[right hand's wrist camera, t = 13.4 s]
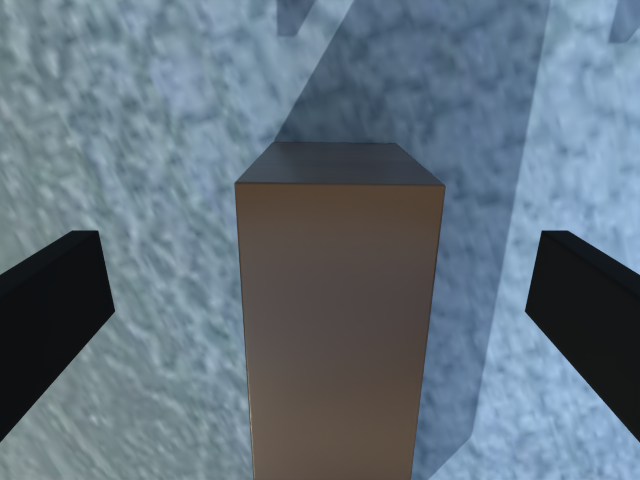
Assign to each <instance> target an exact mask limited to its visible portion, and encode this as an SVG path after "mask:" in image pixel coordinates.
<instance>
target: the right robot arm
mask: <svg viewBox="0 0 640 480" xmlns="http://www.w3.org/2000/svg"><path fill="white" fill-rule="evenodd" d="M114 312H115V308H114V304H113V299H112V294H111V289H110V285H109V280H108V275H107V270H106V266H105V261H104V256H103V251H102V246H101V242H100V237H99V232H98V231H71V232H69V233H68V234H66V235H64V236H63V237H61V238H59V239H58V240H56V241H55V242H53V243H51V244H50V245H48V246H46V247H45V248H43V249H42V250H40V251H38V252H37V253H35V254H33V255H32V256H30V257H29V258H27V259H25V260H24V261H22V262H20V263H19V264H17V265H16V266H14V267H12V268H11V269H9V270H8V271H6V272H4V273H3V274H1V275H0V442H1V441H2V440H3V439H4V438H5V436H6V435H7V434H8V433H9V432H10V431H11V430H12V428H13V427H14V426H15V425H16V424H17V423H18V422H19V420H20V419H21V418H22V417H23V416H24V415H25V414H26V412H27V411H28V410H29V409H30V408H31V407H32V406H33V404H34V403H35V402H36V401H37V400H38V399H39V398H40V396H41V395H42V394H43V393H44V392H45V391H46V390H47V389H48V387H49V386H50V385H51V384H52V383H53V382H54V381H55V379H56V378H57V377H58V376H59V375H60V374H61V373H62V371H63V370H64V369H65V368H66V367H67V366H68V365H69V363H70V362H71V361H72V360H73V359H74V358H75V357H76V355H77V354H78V353H79V352H80V351H81V350H82V349H83V347H84V346H85V345H86V344H87V343H88V342H89V341H90V339H91V338H92V337H93V336H94V335H95V334H96V333H97V331H98V330H99V329H100V328H101V327H102V326H103V325H104V323H105V322H106V321H107V320H108V319H109V318H110V317H111V316H112V314H113V313H114ZM525 312H526V313H527V314H528V316H529V317H530V318H531V319H532V320H533V321H534V322H535V323H536V325H537V326H538V327H539V328H540V329H541V330H542V331H543V333H544V334H545V335H546V336H547V337H548V338H549V339H550V341H551V342H552V343H553V344H554V345H555V346H556V347H557V349H558V350H559V351H560V352H561V353H562V354H563V355H564V357H565V358H566V359H567V360H568V361H569V362H570V363H571V365H572V366H573V367H574V368H575V369H576V370H577V371H578V373H579V374H580V375H581V376H582V377H583V378H584V379H585V381H586V382H587V383H588V384H589V385H590V386H591V387H592V389H593V390H594V391H595V392H596V393H597V394H598V395H599V396H600V398H601V399H602V400H603V401H604V402H605V403H606V404H607V406H608V407H609V408H610V409H611V410H612V411H613V412H614V414H615V415H616V416H617V417H618V418H619V419H620V420H621V422H622V423H623V424H624V425H625V426H626V427H627V428H628V430H629V431H630V432H631V433H632V434H633V435H634V436H635V438H636V439H637V440H638V441H639V442H640V275H639V274H637V273H636V272H634V271H632V270H631V269H629V268H628V267H626V266H624V265H623V264H621V263H620V262H618V261H616V260H615V259H613V258H611V257H610V256H608V255H607V254H605V253H603V252H602V251H600V250H598V249H597V248H595V247H594V246H592V245H590V244H589V243H587V242H585V241H584V240H582V239H581V238H579V237H577V236H576V235H574V234H572V233H571V232H569V231H542V232H541V237H540V242H539V246H538V251H537V256H536V261H535V265H534V270H533V275H532V280H531V285H530V289H529V294H528V299H527V304H526V308H525Z"/></svg>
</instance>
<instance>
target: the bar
mask: <svg viewBox="0 0 640 480" xmlns="http://www.w3.org/2000/svg"><path fill="white" fill-rule="evenodd" d="M234 185H235V200H236V216H237V231H238V247H239V262H240V278H241V293H242V309H243V324H244V340H245V355H246V370H247V386H248V401H249V417H250V432H251V448H252V463H253V479H254V480H411V472H412V464H413V455H414V447H415V439H416V430H417V422H418V413H419V405H420V397H421V388H422V380H423V371H424V363H425V355H426V346H427V338H428V329H429V321H430V313H431V304H432V296H433V288H434V279H435V271H436V262H437V254H438V246H439V237H440V229H441V220H442V212H443V204H444V195H445V185H444V184H443V183H442V182H441V181H439V180H438V179H437V178H436V177H435V176H434V175H432V174H431V173H430V172H429V171H428V170H427V169H425V168H424V167H423V166H422V165H421V164H420V163H418V162H417V161H416V160H415V159H414V158H412V157H411V156H410V155H409V154H408V153H407V152H405V151H404V150H403V149H402V148H401V147H400V146H398V145H397V144H396V143H312V142H273V143H272V144H271V145H270V146H269V147H268V148H267V149H266V150H265V151H264V152H263V153H262V154H261V155H260V156H259V158H258V159H257V160H256V161H255V162H254V163H253V164H252V165H251V166H250V167H249V168H248V169H247V170H246V171H245V172H244V174H243V175H242V176H241V177H240V178H239V179H238V180H237V181H236V182H235V184H234Z"/></svg>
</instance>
